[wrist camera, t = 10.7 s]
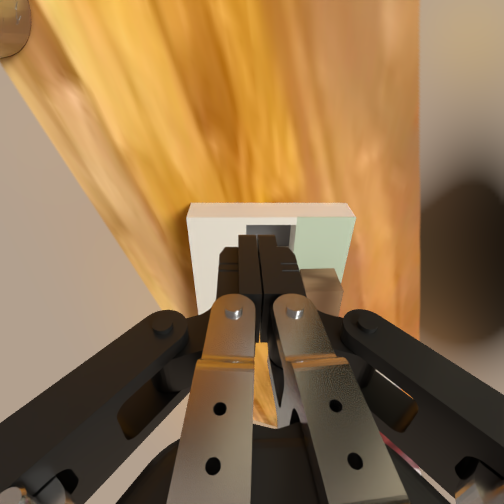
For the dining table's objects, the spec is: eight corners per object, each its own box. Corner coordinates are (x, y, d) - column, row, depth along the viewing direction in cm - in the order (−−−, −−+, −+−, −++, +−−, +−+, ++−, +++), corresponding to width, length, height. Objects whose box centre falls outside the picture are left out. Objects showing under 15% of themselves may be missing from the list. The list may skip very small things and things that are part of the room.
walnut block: (297, 294, 42) (303, 318, 39) (300, 268, 40) (306, 291, 36) (329, 293, 42) (338, 317, 39) (334, 268, 40) (343, 290, 36)
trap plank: (203, 314, 50) (200, 333, 46) (191, 202, 38) (186, 217, 35) (324, 313, 50) (329, 331, 47) (346, 202, 39) (356, 217, 36)
